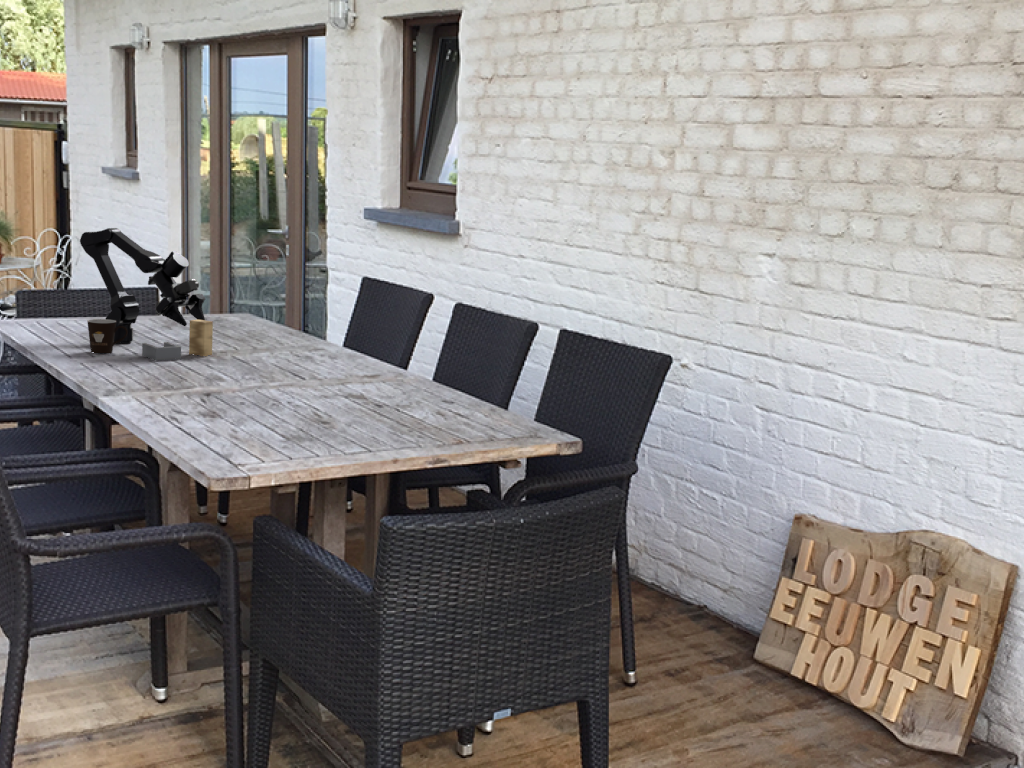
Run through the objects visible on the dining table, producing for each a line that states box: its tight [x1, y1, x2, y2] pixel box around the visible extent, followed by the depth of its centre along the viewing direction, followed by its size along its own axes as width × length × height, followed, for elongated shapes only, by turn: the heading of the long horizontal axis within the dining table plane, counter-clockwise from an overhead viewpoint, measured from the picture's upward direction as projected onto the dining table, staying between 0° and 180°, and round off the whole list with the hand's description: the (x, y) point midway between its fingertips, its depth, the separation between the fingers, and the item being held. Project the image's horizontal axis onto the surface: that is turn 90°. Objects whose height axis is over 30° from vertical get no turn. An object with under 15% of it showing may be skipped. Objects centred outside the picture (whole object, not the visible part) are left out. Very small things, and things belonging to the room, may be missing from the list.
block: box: [188, 319, 214, 357], centre depth 388 cm, size 6×4×11 cm, turn 66°
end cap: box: [141, 341, 182, 362], centre depth 379 cm, size 10×8×4 cm
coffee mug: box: [87, 318, 128, 354], centre depth 380 cm, size 12×9×10 cm
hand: (195, 324), depth 389 cm, fingers open, 9 cm apart
